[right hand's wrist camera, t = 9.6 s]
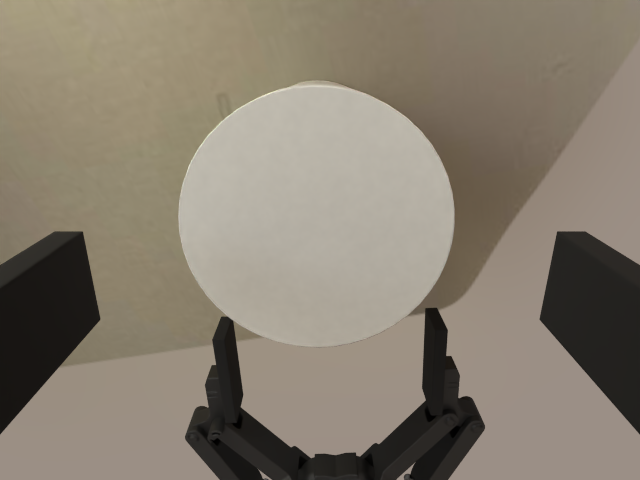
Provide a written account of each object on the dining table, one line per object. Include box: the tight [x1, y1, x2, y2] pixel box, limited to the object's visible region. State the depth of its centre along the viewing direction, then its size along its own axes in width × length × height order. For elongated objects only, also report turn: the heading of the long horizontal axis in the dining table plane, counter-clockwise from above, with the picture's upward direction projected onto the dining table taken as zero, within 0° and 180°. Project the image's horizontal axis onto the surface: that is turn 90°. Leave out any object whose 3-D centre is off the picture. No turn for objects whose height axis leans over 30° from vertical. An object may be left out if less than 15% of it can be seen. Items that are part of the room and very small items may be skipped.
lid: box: [178, 84, 455, 347], centre depth 17 cm, size 10×10×2 cm
